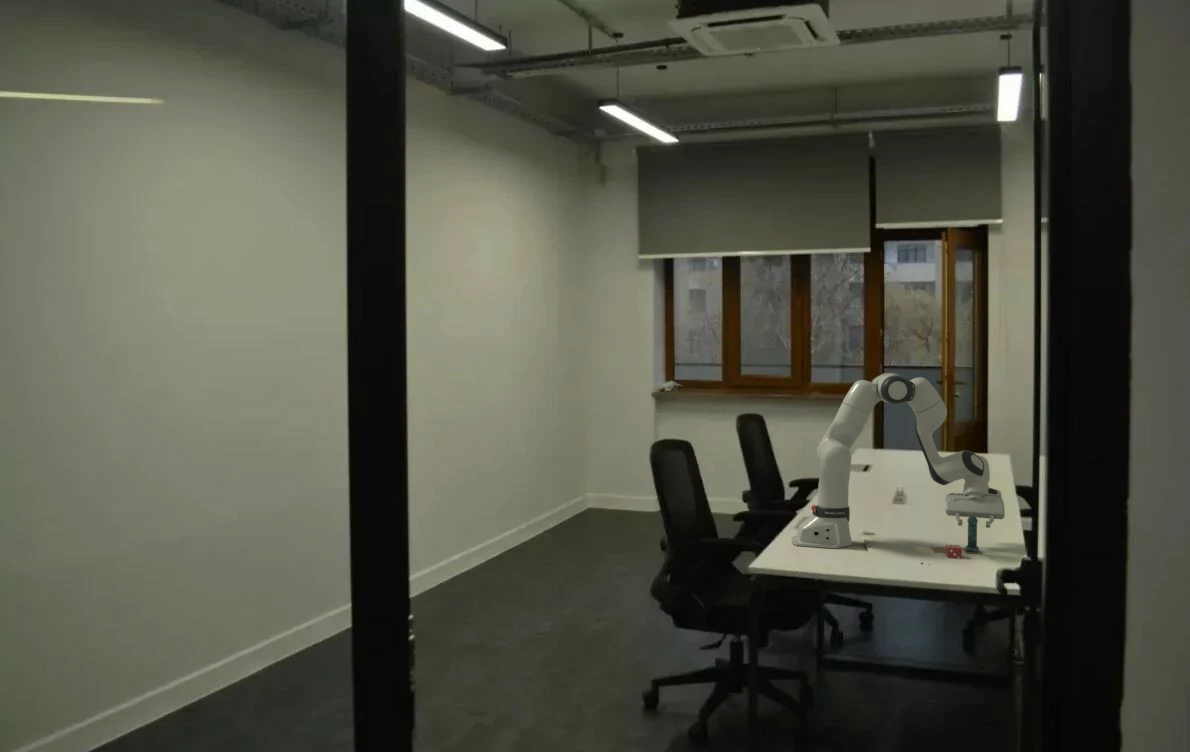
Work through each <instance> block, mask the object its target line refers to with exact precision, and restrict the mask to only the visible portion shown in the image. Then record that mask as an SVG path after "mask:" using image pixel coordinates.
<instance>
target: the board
mask: <svg viewBox="0 0 1190 752" xmlns="http://www.w3.org/2000/svg"><path fill="white" fill-rule="evenodd" d="M914 548H915V549H916V551H917V552H918V553H927V554H928V553H932V554H946V546H945V547H944V546H943V547H942V546H941V547H939V546H917V545H916V546H914ZM961 548H962V555H963V554H964V555H984V553H983V552H982V551H981V550H980V549H979V552H967V551H966V547H961Z"/></svg>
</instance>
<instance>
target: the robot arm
mask: <svg viewBox="0 0 1190 752" xmlns="http://www.w3.org/2000/svg"><path fill="white" fill-rule="evenodd" d="M881 401H882V402H884V403H887V404H890V405H891V404H892V405H900V404H903V403H907V404H908V405H909V406H910V409H911V410H912V412H913V413H914V416H915V418H916V423H915V425H914V432H915V435H916V438H917V440H918V443H919V445H920V449H921V451H922V453H923V456H924V459H925V461H926V463H927V467H928V471H929V474H930V477H931V479H932V480H933V482H935V483H937V484H939V485H942V486H947V485H950V484H952V483H953V482H956V481H959V480H962V479H963V480H964V484H963V490H962V492H963V493H959V492H958V493H957V492H956V493H955V492H951V493H948V494H947V495H945V502H946V505H945V514H946V515H947V516H949V517H955V520H956V521H957V526H959V527H961V526H962V527H963V523H964V522H963V519H961V517H965V518H969V517H971V516H974V517H976V518H977V519H978V518H979V519H989V520H986V521H985V528H987V529H988V528H989V529H990V528H991V525H992V524H993V523H994V521H995V520H1003V519H1004V518H1005V516H1006V515H1005V513H1006V512H1005V503H1004V499H1003V498H1002V497H1003V496H1002V491H1000V490H999V489H996V488H992V487H990V486H989V483H990V480H991V479H990V477H991V476H990V474H991V473H990V470H991V469H990V464H989V461H988V460H987V458H986V457H985V456H984V455H983V456H982V455H980V454H976V453H974V452H973V451H972V450H968V449H966V450H961V451H957V452H955V453H953V454H950V455H947V456H944V457H943V456H941V455H940V454H939V451H938V449H937V447H936V444H935V442H934V441H935V440H934V438H933V433H934V432H935V431H936V430H937V429H939V427H940V426H941V425H943V423H944V422H945V420H946V418H947V416H948V415H947V414H948V411H947V410H948V408H947V406H946V404H945V403H944V400H943V399H942V397H941V395H940V394H939V393H938V391H937V390H936V389H935V387H934V386H933V385H932V384H931V383H930V381H929V380H927V379H926V378H925V377H920V376H919V377H915V378H912V379H910V380H909V379H907V378H905V376H901V375H899V374H898V373H893V372H883V373H880V374H878V375H876V376H875V377H874V378H872V379H870V380H866V379H865V380H864V379H861V380H860V379H859V380H856V381H855V382H854V383H853V384H852V386H851V387H850V389H849V390H848V391H847V393H846V395H845V396H844V398H843V401H842V403H841V404H840V406H839V409H838V411H837V412H836V415H835V417H834V419H833V420H832V423H830V426H829V427H828V429H827V430H826V432H825V434H824V435H823V437H822V439H820V442H819V444H818V445H817V448H816V457H817V460H818V461H819V464H820V465H819V466H820V467H819V477H818V478H819V480H818V486H817V487H818V488H817V489H818V490H817V492H818V493H817V495H818V497H817V502H818V504H817V505H815V504H812V505H811V506H810V509H811V510H812V515H810V516H809V517H808V518H807V519H806V520H804V521H802V522H801V523H800V525H799V526H798V528H797V531H796V532H797V533H796V535H794V536H792V537H791V541H792V542H791V541H790V542H791V544H793V545H794V544H795V545H794V546H797V545H798V546H797V547H810V548H822V549H823V548H824V549H840V548H843V547H849V546H852V545H853V540H852V537H851V531H850V530H851V529H850V519H851V511H850V510H851V509H850V505H849V486H850V485H849V483H850V476H851V466H852V453H851V449H852V446H853V445H854V444H855V443H856V440H857V439H858V437H860V435H861V434H862V432H863V429H864V428H865V426H866V424H867V422H868V419H870V418H869V417H870V416H871V413H872V412H873V409H874V407H875V406H876V405H877V404H878V403H879V402H881Z"/></svg>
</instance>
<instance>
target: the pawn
mask: <svg viewBox="0 0 1190 752" xmlns="http://www.w3.org/2000/svg"><path fill="white" fill-rule="evenodd" d="M978 521H979V520H978V518H976V517H974V516H971V517H967V545H966V546H965V548H966V551H967V552H979V550H980V547H979V546H978V543H977V542H978Z"/></svg>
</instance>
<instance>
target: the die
mask: <svg viewBox="0 0 1190 752" xmlns="http://www.w3.org/2000/svg"><path fill="white" fill-rule="evenodd" d="M945 547H946V553H945V557H947V558H948V559H962V556H963V554H962V548H963V547H961V546H960V545H959V544H956V545H955V544H954V545H953V544H945Z"/></svg>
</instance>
